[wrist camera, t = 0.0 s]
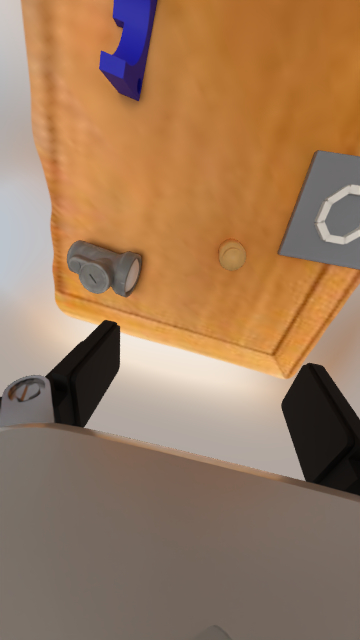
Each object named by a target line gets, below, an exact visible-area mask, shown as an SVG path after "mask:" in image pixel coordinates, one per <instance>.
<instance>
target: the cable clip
mask: <svg viewBox="0 0 360 640" xmlns="http://www.w3.org/2000/svg"><path fill="white" fill-rule="evenodd" d="M156 4H157V0H114V8H113V19H114V20H115V22H116V24H117V26H119V27H122V28H123V32H122V37H121V40H120V43H119V46H118V48H117V50H116V52H115V53H114V54H113V55H110V54H108V53H106V52H103V51H101V57H100V66H99V69H100V70H101V72H102V73H103V74H104V75H105V76H106V78H107V79H108V80H109V81H110V82H111V84H112V85H113V86H114V87H115V88H116V90H117V91H118V92H119V93H121V94H123V95H125V96H128V97H130V98H132V99H135V100H137V101H139V98H140V93H141V87H142V82H143V76H144V71H145V65H146V60H147V54H148V49H149V43H150V37H151V32H152V26H153V21H154V15H155V10H156Z"/></svg>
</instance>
